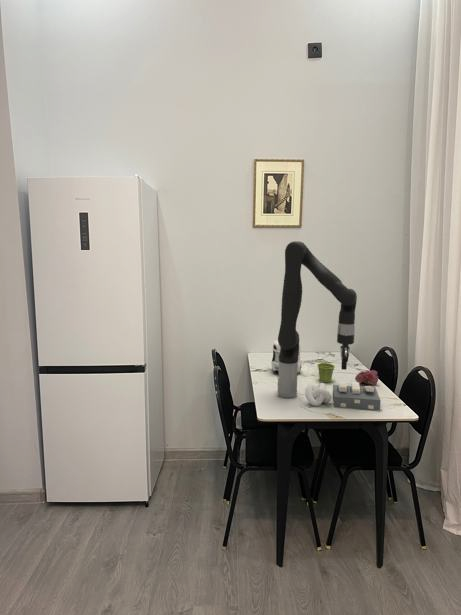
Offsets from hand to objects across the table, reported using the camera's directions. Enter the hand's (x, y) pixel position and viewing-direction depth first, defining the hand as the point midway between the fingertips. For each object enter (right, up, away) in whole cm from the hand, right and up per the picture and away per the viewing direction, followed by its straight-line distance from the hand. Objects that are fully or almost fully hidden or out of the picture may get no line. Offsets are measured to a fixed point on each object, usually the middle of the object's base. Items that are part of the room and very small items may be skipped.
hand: (343, 369), depth 186 cm
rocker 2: (+6, -9, +3) cm, 12 cm away
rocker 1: (+1, -9, +4) cm, 10 cm away
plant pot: (-1, -12, +33) cm, 35 cm away
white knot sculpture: (-12, -17, +3) cm, 21 cm away
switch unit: (+6, -16, +4) cm, 18 cm away
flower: (+20, -13, +27) cm, 36 cm away
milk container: (-20, -9, +48) cm, 53 cm away
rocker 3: (+12, -9, +1) cm, 16 cm away
